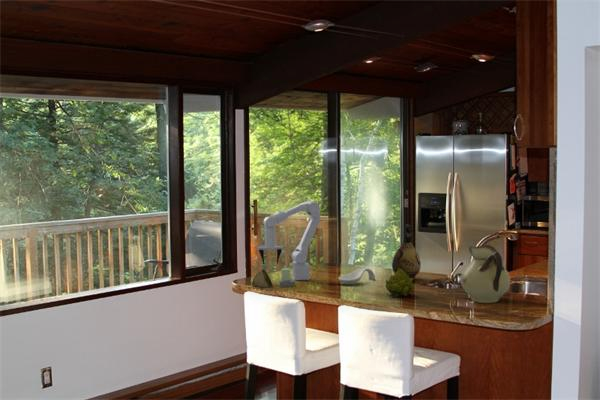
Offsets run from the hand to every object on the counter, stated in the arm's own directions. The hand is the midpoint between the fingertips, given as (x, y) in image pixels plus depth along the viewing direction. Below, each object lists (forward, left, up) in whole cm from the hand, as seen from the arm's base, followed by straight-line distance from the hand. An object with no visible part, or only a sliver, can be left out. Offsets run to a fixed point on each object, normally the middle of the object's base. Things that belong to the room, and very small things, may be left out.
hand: (270, 263), depth 398 cm
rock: (+5, +14, -10) cm, 18 cm away
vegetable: (-62, +50, -10) cm, 80 cm away
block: (-8, +13, -7) cm, 17 cm away
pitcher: (-99, +67, -10) cm, 120 cm away
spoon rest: (-46, +11, -10) cm, 49 cm away
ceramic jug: (-74, +6, -10) cm, 75 cm away
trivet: (-8, +13, -10) cm, 19 cm away
